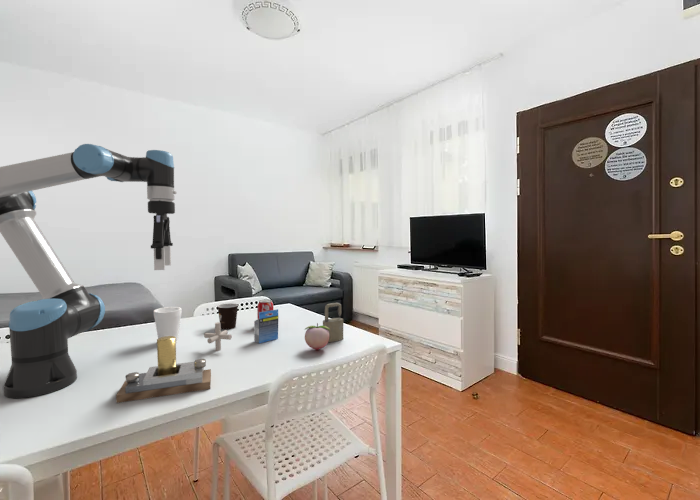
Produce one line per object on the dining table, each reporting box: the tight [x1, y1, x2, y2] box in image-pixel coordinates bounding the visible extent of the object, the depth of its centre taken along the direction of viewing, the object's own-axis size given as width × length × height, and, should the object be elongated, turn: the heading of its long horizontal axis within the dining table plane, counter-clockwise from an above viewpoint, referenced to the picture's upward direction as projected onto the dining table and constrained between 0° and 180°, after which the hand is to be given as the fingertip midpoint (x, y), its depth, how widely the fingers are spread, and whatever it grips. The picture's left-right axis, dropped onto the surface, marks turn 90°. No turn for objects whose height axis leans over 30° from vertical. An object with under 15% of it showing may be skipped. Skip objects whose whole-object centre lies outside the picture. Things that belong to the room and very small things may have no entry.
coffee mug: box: [217, 303, 239, 331], centre depth 150 cm, size 12×9×10 cm
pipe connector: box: [203, 321, 232, 352], centre depth 123 cm, size 10×10×10 cm
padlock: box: [322, 302, 344, 343], centre depth 135 cm, size 4×8×15 cm, turn 122°
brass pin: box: [156, 336, 177, 376], centre depth 93 cm, size 4×4×12 cm
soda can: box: [256, 298, 274, 320], centre depth 153 cm, size 7×7×12 cm
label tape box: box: [253, 308, 279, 344], centre depth 134 cm, size 9×4×12 cm, turn 135°
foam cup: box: [153, 306, 183, 344], centre depth 130 cm, size 10×9×13 cm
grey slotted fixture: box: [125, 358, 207, 394], centre depth 93 cm, size 20×9×5 cm, turn 111°
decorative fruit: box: [303, 322, 330, 351], centre depth 123 cm, size 9×8×10 cm
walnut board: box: [115, 368, 212, 404], centre depth 93 cm, size 22×9×2 cm, turn 111°
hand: (163, 267), depth 108 cm, fingers open, 13 cm apart
